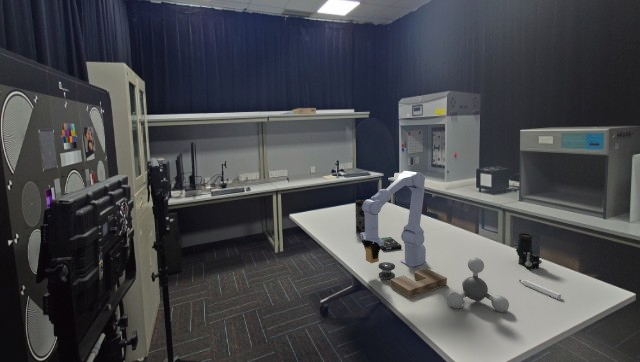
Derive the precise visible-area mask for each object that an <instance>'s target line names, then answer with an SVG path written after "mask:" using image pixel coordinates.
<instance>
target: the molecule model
mask: <svg viewBox="0 0 640 362" xmlns="http://www.w3.org/2000/svg"><path fill="white" fill-rule="evenodd" d="M467 268H468V269H469V271H470V272H472V276H469V277H466V278H465V279H463V281H462V282H461V283H462V284H461V285H462V286H461V287H462V291H463V292H462V293H459V292H455V291H454V292H451V293H449V294H448V296H447V303H448V305H449V306H450V307H451V308H453V309H460V308H462V307H463V305H464V303H465V301H464V299H465V298H468V299H470V300H471V301H475V302H476V301H482V300H484V299H485V298H486V299H487V300H489V301H490V302H491V305H492V308H493V309H494V310H495V311H497V312H500V313H503V312H504V313H505V312H506V311H508V310H509V309H510V308H509V307H510V302H509V300H508V299H507V298H506V297H505V296H503V295H495V296H493V295H492V294H490V293H488V292H489V286H488V285H487V283H486V282H485V281H484V280H483V279H482V278H480V277H479V274H480V273H482V272H483V270H484V269H485V263H484V261H483V260H482V259H481V258H480V257H475V256H474V257H471V258H470V259H469V260H468V261H467Z"/></svg>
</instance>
